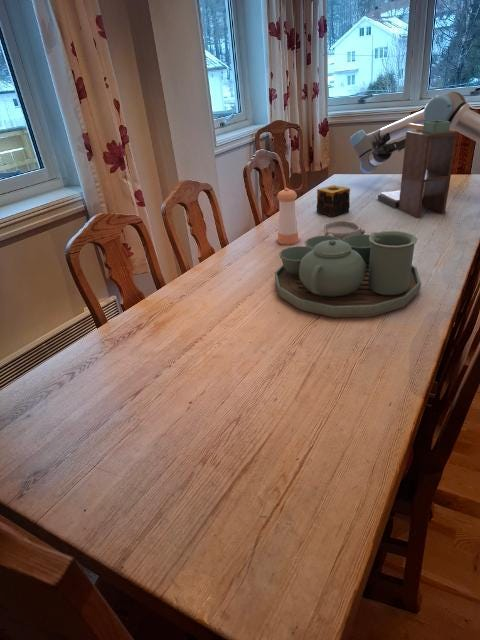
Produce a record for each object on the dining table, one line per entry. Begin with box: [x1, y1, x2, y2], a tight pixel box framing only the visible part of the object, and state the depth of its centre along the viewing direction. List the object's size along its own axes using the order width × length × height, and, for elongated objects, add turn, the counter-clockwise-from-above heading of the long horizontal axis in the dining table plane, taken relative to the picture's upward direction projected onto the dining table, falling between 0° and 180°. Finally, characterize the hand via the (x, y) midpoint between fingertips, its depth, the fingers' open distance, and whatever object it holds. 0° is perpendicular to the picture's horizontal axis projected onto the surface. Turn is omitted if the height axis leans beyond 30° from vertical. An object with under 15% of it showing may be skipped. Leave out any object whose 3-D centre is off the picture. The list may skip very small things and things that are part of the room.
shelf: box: [398, 130, 459, 218], centre depth 168 cm, size 14×12×30 cm
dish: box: [322, 220, 366, 241], centre depth 153 cm, size 14×14×5 cm
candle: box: [316, 184, 351, 218], centre depth 181 cm, size 10×10×10 cm
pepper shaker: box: [276, 187, 299, 245], centre depth 153 cm, size 7×7×19 cm
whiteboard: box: [377, 189, 423, 209], centre depth 187 cm, size 15×14×3 cm
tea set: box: [274, 230, 422, 318], centre depth 119 cm, size 40×40×16 cm
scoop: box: [407, 120, 450, 134], centre depth 163 cm, size 21×6×4 cm, turn 13°
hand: (404, 134), depth 177 cm, fingers open, 13 cm apart
